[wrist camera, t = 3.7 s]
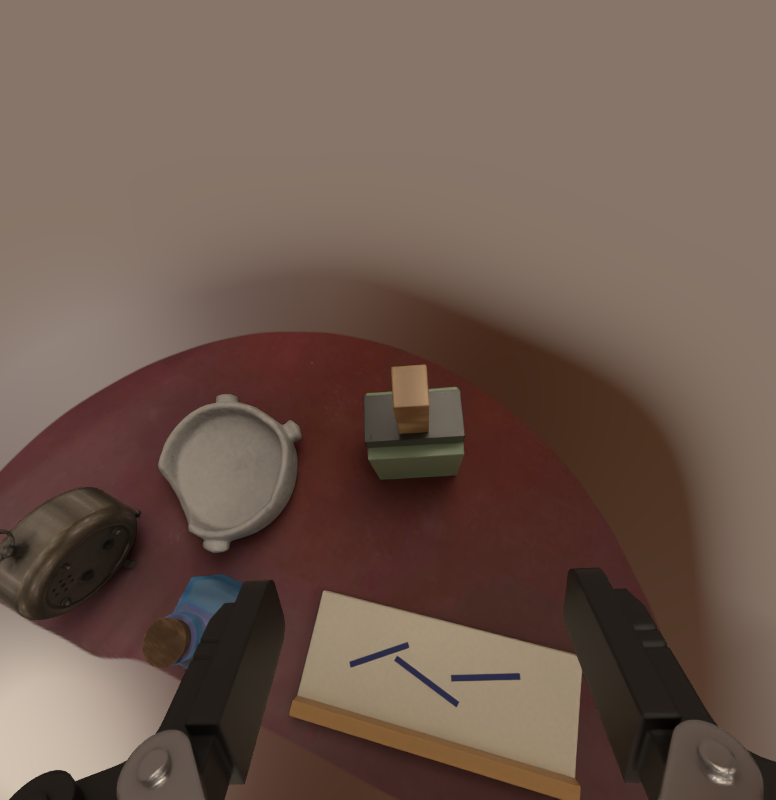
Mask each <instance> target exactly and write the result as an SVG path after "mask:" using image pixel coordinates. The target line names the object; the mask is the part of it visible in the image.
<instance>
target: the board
mask: <svg viewBox="0 0 776 800" xmlns="http://www.w3.org/2000/svg"><path fill="white" fill-rule="evenodd" d="M581 676H582V669H581V666H580V663H579V661H578V658H577V656H576V654H572V653H568V652H565V651H561V650H557V649H553V648H549V647H545V646H541V645H537V644H533V643H530V642H526V641H522V640H518V639H514V638H510V637H506V636H502V635H498V634H494V633H491V632H487V631H483V630H479V629H475V628H471V627H467V626H463V625H459V624H456V623H452V622H448V621H444V620H440V619H436V618H432V617H428V616H424V615H420V614H417V613H413V612H409V611H405V610H401V609H397V608H393V607H389V606H385V605H382V604H378V603H374V602H370V601H366V600H362V599H358V598H354V597H350V596H346V595H343V594H339V593H335V592H331V591H327V590H324V591H323V594H322V598H321V602H320V606H319V610H318V614H317V618H316V622H315V626H314V630H313V634H312V638H311V642H310V646H309V650H308V654H307V658H306V662H305V666H304V670H303V674H302V678H301V682H300V686H299V690H298V694H297V696H296V697H295V698H294V699H293V701H292V705H291V709H290V713H289V716H292V717H295V718H298V719H302V720H305V721H308V722H311V723H315V724H318V725H321V726H324V727H328V728H331V729H334V730H337V731H341V732H344V733H347V734H350V735H354V736H357V737H360V738H363V739H367V740H370V741H373V742H376V743H380V744H383V745H386V746H389V747H393V748H396V749H399V750H402V751H406V752H409V753H412V754H415V755H419V756H422V757H425V758H428V759H432V760H435V761H438V762H441V763H445V764H448V765H451V766H454V767H458V768H461V769H464V770H467V771H471V772H474V773H477V774H480V775H484V776H487V777H490V778H493V779H497V780H500V781H503V782H506V783H510V784H513V785H516V786H519V787H523V788H526V789H529V790H532V791H536V792H539V793H542V794H545V795H549V796H552V797H555V798H558V799H562V800H580V789H581V787H580V785H579V784H578V782H577V781H576V779H575V767H576V751H577V736H578V721H579V706H580V691H581Z"/></svg>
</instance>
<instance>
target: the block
mask: <svg viewBox="0 0 776 800" xmlns="http://www.w3.org/2000/svg"><path fill="white" fill-rule="evenodd" d="M443 390H457V387H451V388H437V389H428V392H429V391H443ZM386 394H392V392H380V393H367V394H366V396H371V395H386ZM463 456H464V446H463V442H461V443H445V444H429V445H412V446H396V447H380V448H368V460H369V462H370V464H371V465H372V467H373V468H374V470H375V472H376V473H377V475H378V477H379V478H380V480H384V479H402V478H419V477H437V476H454V475H457V472H458V469H459V467H460V464H461V461H462V458H463Z"/></svg>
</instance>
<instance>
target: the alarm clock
mask: <svg viewBox="0 0 776 800" xmlns="http://www.w3.org/2000/svg"><path fill="white" fill-rule="evenodd" d="M139 514H140V510H135V511H134V512H133V511H132V510H131V509H130V508H129V507H128V506H126V505H125V504H123V503H121V502H120V501H118V500H117V499H115V498H113V497H112V496H110V495H108V494H107V493H105V492H104V491H102V490H100V489H97V488H92V487H86V488H78V489H74V490H70V491H68V492H65V493H62V494H60V495H58V496H56V497H54V498H52V499H50V500H48V501H47V502H45V503H43V504H42V505H40V506H39V507H37V508H36V509H35V510H33V511H32V512H30V513H29V514H28V515H27V516H25V517H24V518H23V519H22V520H21V521H20V522H19V523H18V524H17V525H16V526H15V527H14V528H13V529H12V530H11V531H7V530H4V529H0V534H6V535H7V536H6V537H5V538H4V539H3V541H2V542H1V543H0V601H2V602H3V603H4V604H6V605H7V606H9V607H10V608H11V609H13V610H14V611H16V612H17V613H18V614H20V615H21V616H23V617H25V618H27V619H30V620H45V619H50V618H54V617H57V616H59V615H62V614H64V613H66V612H68V611H70V610H72V609H74V608H76V607H77V606H79V605H80V604H82V603H83V602H85V601H86V600H87V599H89V598H90V597H91V596H93V595H94V594H95V593H96V592H97V591H98V590H100V589H101V588H102V587H103V586H104V585H105V584H106V583H107V582H108V581H109V579H110V578H111V577H112V576H113V575H114V574H115V572H116V571H117V570H118V569H119V568H120V567H126V568H134V567H135V566H136V562H133V561H129V560H127V559H126V557H127V555H128V553H129V552H130V550H131V547H132V545H133V543H134V540H135V537H136V532H137V520H136V517H135V516H138V515H139Z"/></svg>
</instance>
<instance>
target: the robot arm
mask: <svg viewBox="0 0 776 800" xmlns="http://www.w3.org/2000/svg"><path fill="white" fill-rule="evenodd" d="M564 618H565V624H566V628H567V632H568V635H569V637H570V640H571V642H572V645H573V648H574V650H575V653H576V656H577V658H578V661H579V663H580V666H581V669H582V671H583V674H584V676H585V679H586V682H587V684H588V687H589V689H590V692H591V695H592V697H593V700H594V703H595V705H596V708H597V710H598V713H599V716H600V718H601V721H602V723H603V726H604V729H605V731H606V734H607V737H608V739H609V742H610V744H611V747H612V750H613V752H614V755H615V757H616V760H617V763H618V765H619V768H620V771H621V773H622V776H623V778H624V781H625V783H640V782H642V784H643V786H644V789H645V791H646V794H647V796H648V798H649V800H776V762H775V761H771V760H768V759H766V758H763V757H760V756H758V755H756V754H754V753H752V752H750V751H748V750H747V749H746V748H745V747H744V746H743V745H742V744H741V743H740V742H739V741H738V740H737V739H736V738H734V737H733V736H732V735H731V734H729V733H728V732H726V731H725V730H723V729H721V728H720V727H718V725H717V724H716V723H715V722H714V721H713V719H712V718H711V716H710V715H709V713H708V712H707V710H706V708H705V707H704V705H703V703H702V702H701V700H700V698H699V696H698V695H697V693H696V691H695V690H694V688H693V686H692V685H691V683H690V681H689V680H688V678H687V676H686V675H685V673H684V671H683V670H682V668H681V666H680V665H679V663H678V661H677V660H676V658H675V656H674V655H673V653H672V651H671V650H670V648H668V647H667V643H666V641H665V639H664V638H663V636H662V634H661V633H660V631H659V630H657V626H656V624H655V623H654V621H653V619H652V618H651V616H650V614H649V613H648V611H647V609H646V608H645V606H644V605H643V604H642V603H641V602H640V601H639V600H638V599H636V598H635V597H634V596H633V595H632V594H631V593H630V592H629V591H628V590H627V589H613V588H612V586H611V584H610V583H609V581H608V579H607V577H606V575H605V573H604V572H603V571H602V569H600V568H579V569H570V570H569V572H568V578H567V586H566V595H565V603H564ZM284 632H285V621H284V615H283V611H282V608H281V604H280V601H279V597H278V593H277V590H276V586H275V583H274V581H272V580H264V581H246V582H244V583H243V585H242V586H241V589H240V591H239V593H238V596H237V598H236V601H235V603H224V604H223V605H222V606H221V607H220V609H219V610H218V611H217V612H216V613H215V614H214V615H213V617H212V618H211V619H210V620H209V622H208V624H207V626H206V628H205V631H204V633H203V635H202V637H201V639H200V640H201V641H200V644H198V646H197V648H196V650H195V652H194V655H193V660H191V661H190V663H189V666H188V668H187V670H186V672H185V674H184V676H183V679H182V681H181V683H180V685H179V688H178V690H177V692H176V694H175V696H174V698H173V700H172V703H171V705H170V707H169V709H168V711H167V713H166V716H165V718H164V720H163V722H162V724H161V726H160V728H159V730H158V731H157V732H156V734H155V735H153V736H151V737H149V738H148V739H147V740H145V741H144V742H143V743H142V744H141V745H139V746H138V747H137V748H136V749H135V751H134V752H133V753H132V754H131V755H130V757H129V758H128V760H127V761H125V762H123V763H121V764H119V765H117V766H114V767H112V768H109V769H106V770H104V771H101V772H99V773H96V774H93V775H91V776H88V777H85V778H83V779H81V780H78V781H75V780H74V779H73V778H72V776H71V775H70V774H69V773H67V772H66V771H62V770H55V771H50V772H47V773H44V774H42V775H40V776H38V777H36V778H34V779H33V780H31V781H29V782H28V783H27V784H25V785H24V786H23V787H22V788H21V789H20V790H18V791H17V792H16V793H15V794H14V795H13V796H12V797H11V798H10V799H9V800H224V799H225V796H226V792H227V789H228V786H229V784H245V780H246V777H247V773H248V770H249V766H250V762H251V759H252V755H253V751H254V748H255V744H256V740H257V736H258V733H259V729H260V725H261V722H262V718H263V714H264V710H265V707H266V703H267V699H268V696H269V692H270V688H271V685H272V681H273V677H274V673H275V670H276V666H277V662H278V659H279V655H280V651H281V647H282V644H283V639H284Z"/></svg>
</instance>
